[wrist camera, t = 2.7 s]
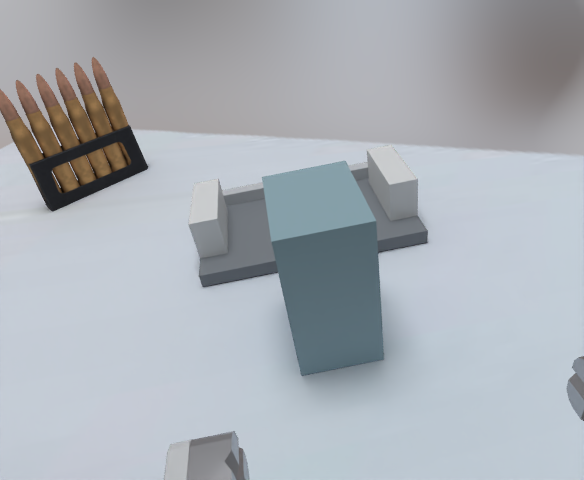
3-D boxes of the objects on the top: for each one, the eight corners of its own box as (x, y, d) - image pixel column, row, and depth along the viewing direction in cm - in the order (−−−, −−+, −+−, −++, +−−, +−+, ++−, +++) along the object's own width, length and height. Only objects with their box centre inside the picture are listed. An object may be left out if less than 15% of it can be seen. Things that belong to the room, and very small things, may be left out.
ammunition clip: (141, 164, 51) (99, 53, 44) (148, 168, 49) (105, 55, 42) (46, 206, 46) (-19, 88, 39) (52, 211, 44) (-15, 91, 38)
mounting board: (202, 286, 31) (186, 240, 29) (207, 212, 39) (195, 172, 37) (427, 242, 31) (428, 193, 29) (385, 177, 40) (384, 135, 37)
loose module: (301, 376, 24) (271, 241, 19) (288, 300, 29) (261, 177, 24) (383, 359, 24) (376, 220, 19) (357, 286, 29) (345, 160, 24)
